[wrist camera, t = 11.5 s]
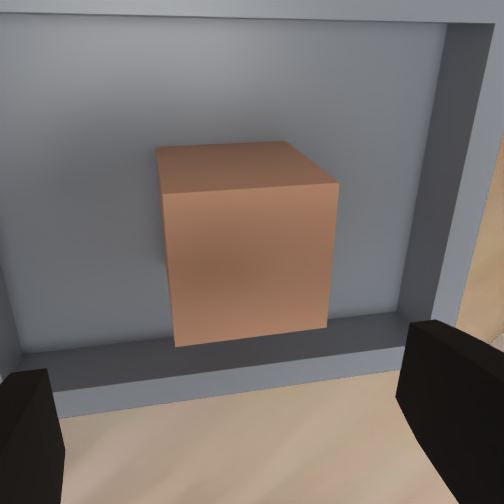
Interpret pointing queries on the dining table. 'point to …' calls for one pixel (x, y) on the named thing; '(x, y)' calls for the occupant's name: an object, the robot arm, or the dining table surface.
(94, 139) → the tray
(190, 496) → the dining table surface
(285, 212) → the block
